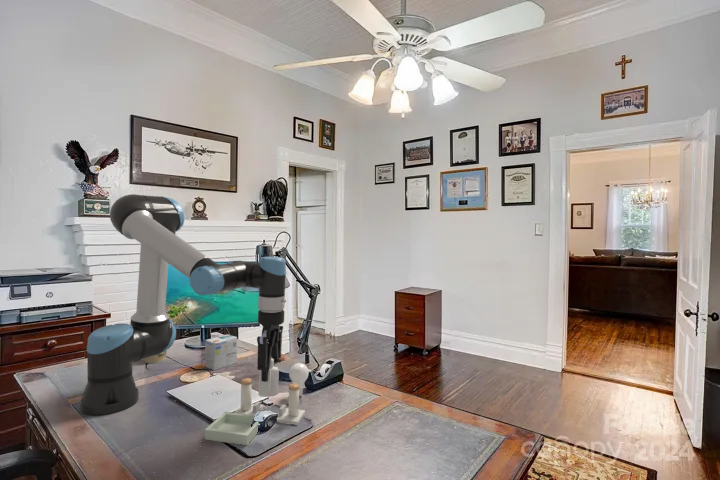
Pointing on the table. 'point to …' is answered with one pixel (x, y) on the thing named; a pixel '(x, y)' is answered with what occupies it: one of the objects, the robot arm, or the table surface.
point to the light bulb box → (220, 352)
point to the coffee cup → (156, 358)
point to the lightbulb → (299, 375)
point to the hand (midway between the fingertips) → (268, 387)
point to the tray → (232, 428)
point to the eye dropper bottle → (273, 381)
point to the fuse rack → (285, 414)
